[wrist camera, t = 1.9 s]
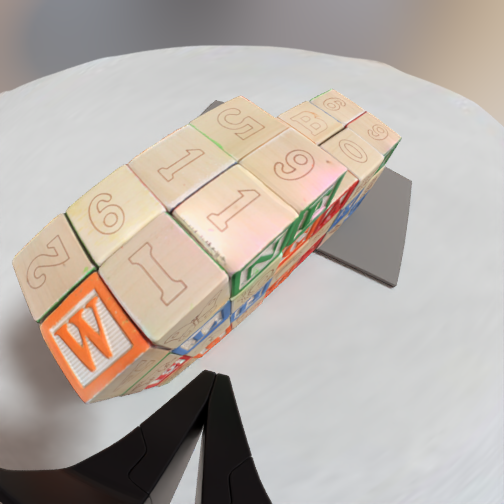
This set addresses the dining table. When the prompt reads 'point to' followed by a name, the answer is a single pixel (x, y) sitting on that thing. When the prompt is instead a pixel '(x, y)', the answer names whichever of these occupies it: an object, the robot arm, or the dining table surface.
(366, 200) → the mat
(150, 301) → the stack of blocks
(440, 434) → the dining table surface
